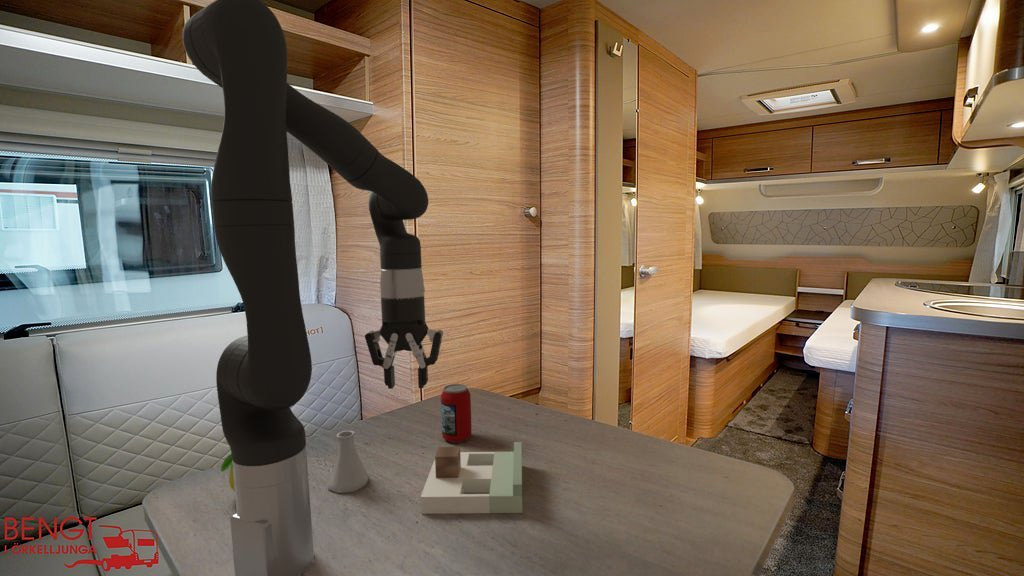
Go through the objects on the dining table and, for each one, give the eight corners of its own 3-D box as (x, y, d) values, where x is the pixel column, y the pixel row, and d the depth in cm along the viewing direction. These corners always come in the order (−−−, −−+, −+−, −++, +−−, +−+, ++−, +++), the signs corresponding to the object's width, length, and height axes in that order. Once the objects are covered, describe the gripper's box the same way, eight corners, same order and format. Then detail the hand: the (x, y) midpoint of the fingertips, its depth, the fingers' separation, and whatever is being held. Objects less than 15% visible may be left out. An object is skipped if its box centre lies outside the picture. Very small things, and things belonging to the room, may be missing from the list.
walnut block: (435, 478, 87) (435, 456, 86) (439, 467, 91) (438, 447, 90) (458, 477, 87) (457, 456, 86) (460, 467, 91) (460, 446, 90)
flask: (356, 496, 87) (353, 443, 86) (320, 492, 89) (316, 440, 87) (375, 476, 94) (372, 427, 93) (341, 473, 96) (338, 424, 94)
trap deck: (421, 513, 81) (419, 485, 81) (437, 466, 97) (436, 442, 97) (522, 512, 81) (521, 484, 80) (521, 465, 97) (521, 441, 97)
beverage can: (438, 435, 113) (436, 385, 111) (466, 430, 115) (464, 381, 114) (447, 447, 106) (445, 394, 105) (476, 440, 109) (474, 389, 108)
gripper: (355, 297, 82) (360, 394, 84) (439, 295, 81) (443, 393, 83) (368, 292, 89) (373, 381, 91) (446, 290, 89) (449, 380, 91)
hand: (406, 386), depth 87 cm, fingers open, 5 cm apart
